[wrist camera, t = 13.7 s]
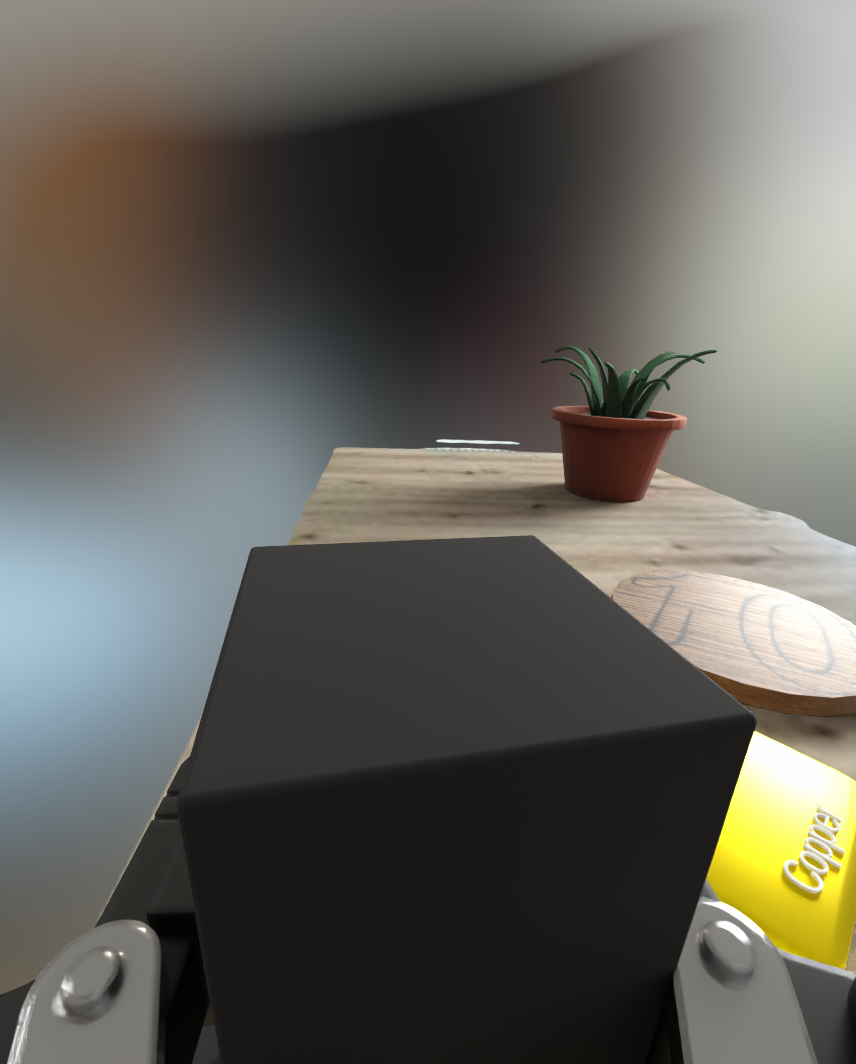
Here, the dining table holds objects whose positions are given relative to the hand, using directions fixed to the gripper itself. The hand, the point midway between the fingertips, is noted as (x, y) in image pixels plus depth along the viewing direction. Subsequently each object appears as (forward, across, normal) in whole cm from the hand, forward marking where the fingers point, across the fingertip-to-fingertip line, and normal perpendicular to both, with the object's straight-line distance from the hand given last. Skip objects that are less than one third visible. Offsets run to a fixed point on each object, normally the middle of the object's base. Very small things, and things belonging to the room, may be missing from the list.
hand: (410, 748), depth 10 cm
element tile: (+13, -18, +20) cm, 30 cm away
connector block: (-3, 0, +6) cm, 7 cm away
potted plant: (+98, -47, +20) cm, 110 cm away
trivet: (+36, -36, +20) cm, 55 cm away
